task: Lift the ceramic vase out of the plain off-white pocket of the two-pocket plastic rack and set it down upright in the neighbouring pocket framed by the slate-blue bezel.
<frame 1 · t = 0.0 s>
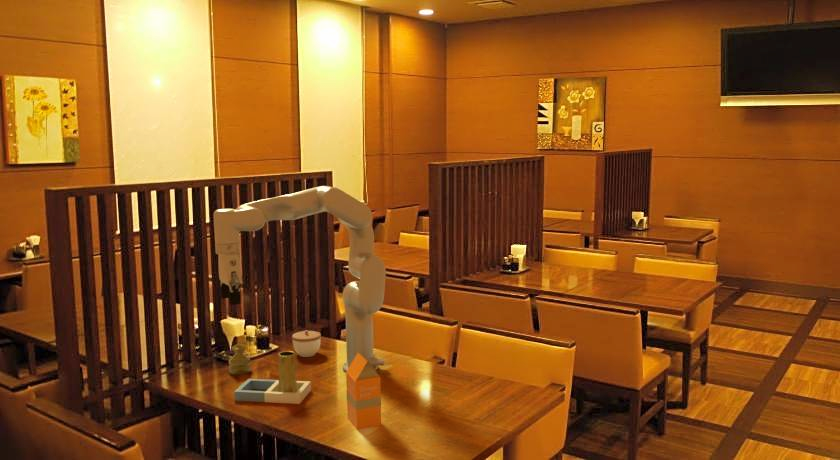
hand: (230, 301, 224), 31 cm above the table, tool pointing down, fingers open, 9 cm apart
olive bulbous piece: (240, 372, 250), on the table
vase: (288, 396, 227), resting in pocket rack
lidded jar: (307, 354, 268), on the table
orange juice: (364, 422, 206), on the table
pocket rack: (273, 395, 227), on the table
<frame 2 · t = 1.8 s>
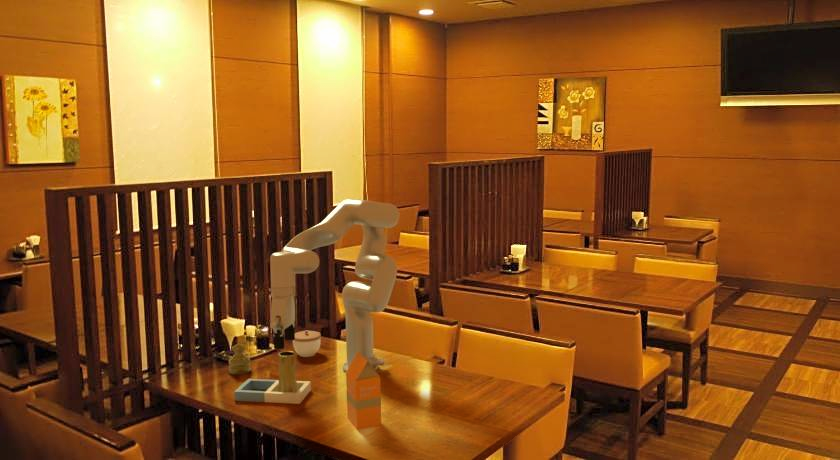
hand: (284, 344, 224), 17 cm above the table, tool pointing down, fingers open, 9 cm apart
nothing on the table moved.
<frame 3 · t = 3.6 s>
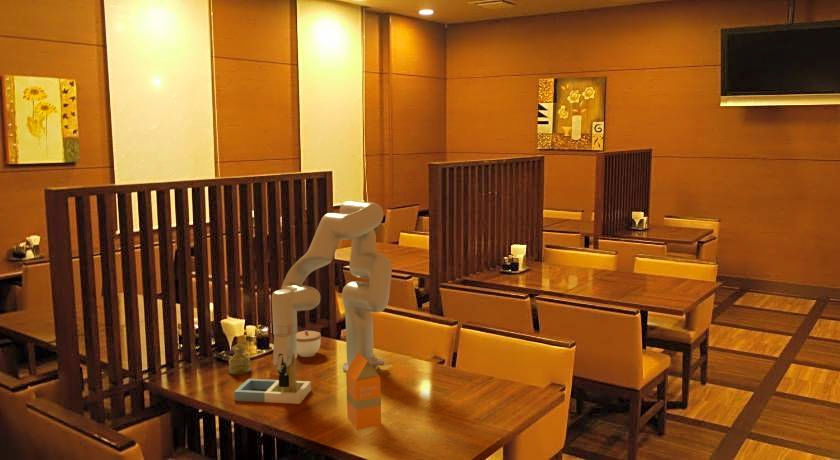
hand: (287, 382, 226), 5 cm above the table, tool pointing down, fingers closed on vase, 5 cm apart
vase: (288, 396, 227), resting in pocket rack, touching gripper
everything else where it was.
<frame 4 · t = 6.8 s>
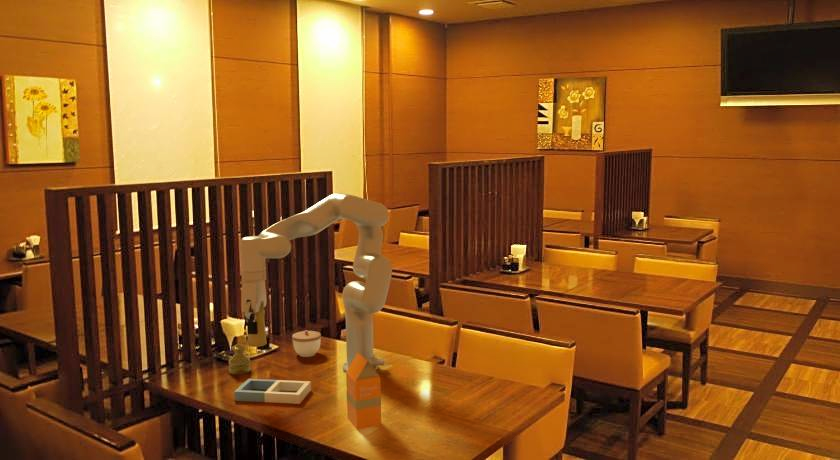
hand: (256, 330, 225), 22 cm above the table, tool pointing down, fingers closed on vase, 5 cm apart
vase: (257, 344, 226), point 17 cm above the table, touching gripper
everything else where it was.
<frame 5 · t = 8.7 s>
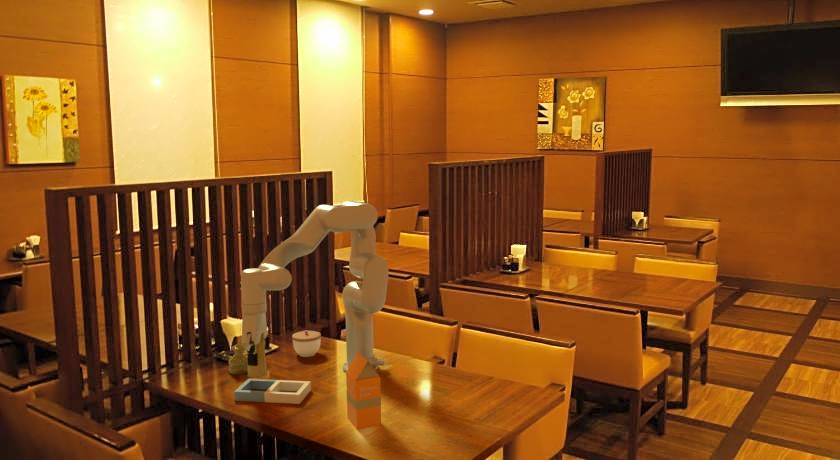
hand: (256, 361, 226), 11 cm above the table, tool pointing down, fingers closed on vase, 5 cm apart
vase: (257, 375, 227), point 6 cm above the table, touching gripper
everything else where it was.
when the fingers open (6 cm above the table, at t = 10.2 s): vase drops 1 cm, resting in pocket rack.
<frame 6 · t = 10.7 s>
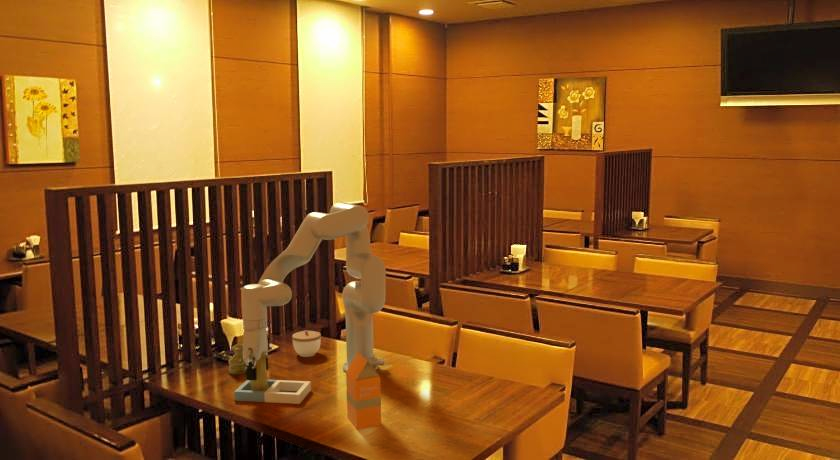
hand: (257, 374, 227), 7 cm above the table, tool pointing down, fingers open, 9 cm apart
vase: (259, 394, 228), resting in pocket rack
everything else where it was.
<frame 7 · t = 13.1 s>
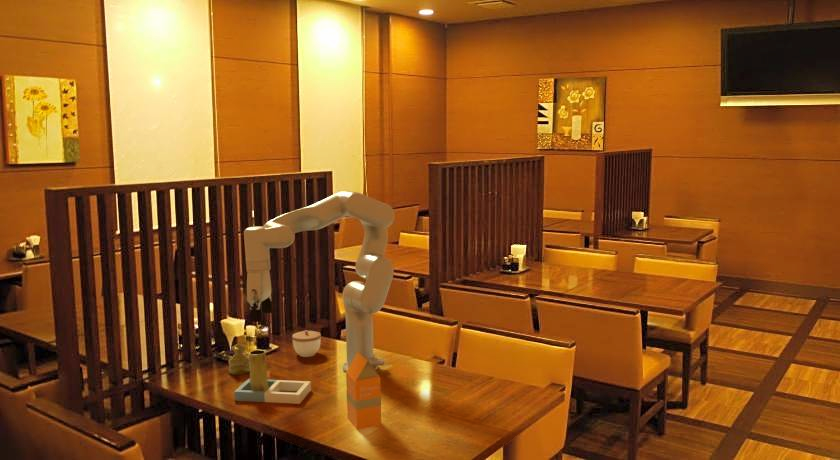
hand: (262, 317, 227), 25 cm above the table, tool pointing down, fingers open, 9 cm apart
nothing on the table moved.
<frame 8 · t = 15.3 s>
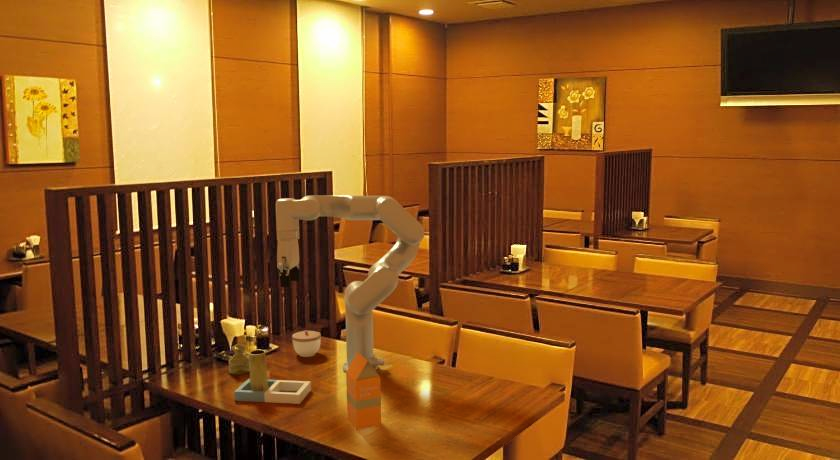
hand: (290, 283, 242), 32 cm above the table, tool pointing down, fingers open, 9 cm apart
nothing on the table moved.
at the end: vase 0.2 cm from the target spot on the pocket rack, point 0.0 cm above the pocket rack's base; vase tilted 0°; the gripper is holding nothing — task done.
